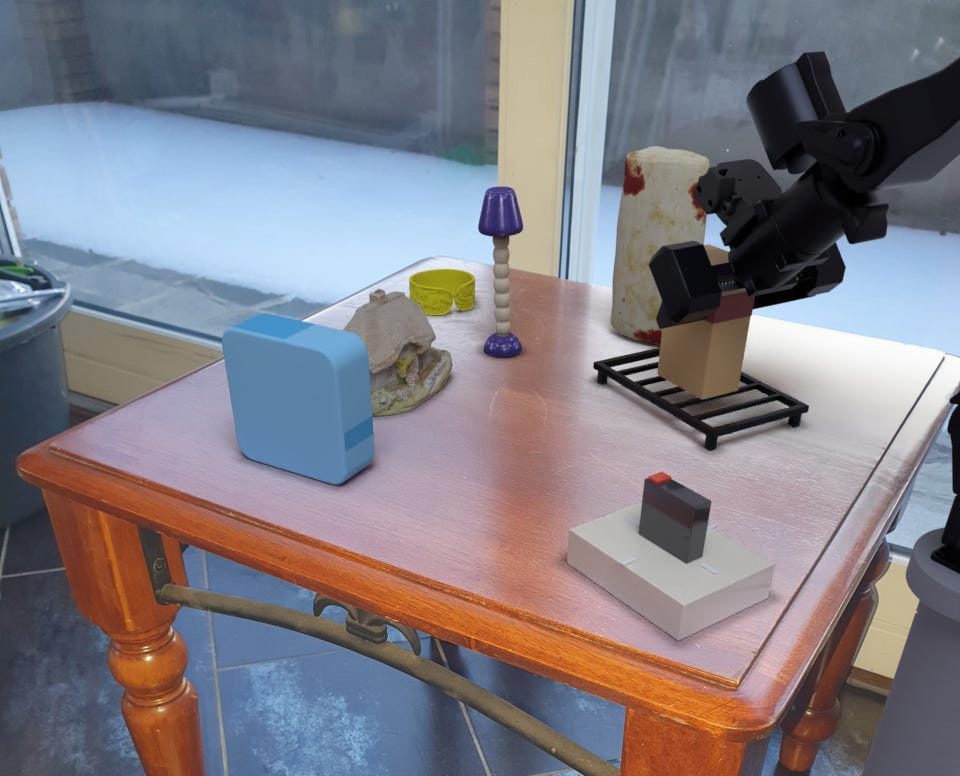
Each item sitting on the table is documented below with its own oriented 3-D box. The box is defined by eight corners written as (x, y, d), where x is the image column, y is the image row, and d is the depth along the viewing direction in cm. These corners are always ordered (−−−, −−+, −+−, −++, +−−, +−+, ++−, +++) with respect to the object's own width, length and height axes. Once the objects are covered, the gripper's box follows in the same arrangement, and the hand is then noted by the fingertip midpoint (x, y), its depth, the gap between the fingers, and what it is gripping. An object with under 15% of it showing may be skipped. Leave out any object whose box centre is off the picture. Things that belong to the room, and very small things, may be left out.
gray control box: (702, 556, 70) (712, 497, 68) (686, 563, 70) (695, 504, 67) (654, 527, 74) (661, 469, 71) (638, 533, 73) (644, 475, 70)
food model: (598, 340, 112) (613, 146, 100) (621, 322, 117) (638, 135, 105) (679, 356, 108) (705, 157, 96) (700, 337, 113) (727, 145, 101)
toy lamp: (483, 359, 108) (484, 195, 98) (473, 344, 111) (473, 184, 101) (526, 356, 109) (531, 193, 98) (515, 340, 112) (518, 182, 102)
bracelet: (399, 301, 123) (398, 274, 121) (456, 291, 126) (456, 265, 124) (426, 319, 118) (425, 291, 116) (485, 308, 121) (485, 280, 119)
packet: (692, 366, 101) (709, 243, 94) (739, 390, 96) (760, 263, 89) (655, 374, 99) (670, 250, 92) (701, 400, 94) (720, 271, 87)
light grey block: (769, 597, 72) (777, 560, 70) (677, 641, 67) (683, 603, 66) (654, 527, 79) (659, 492, 78) (565, 563, 75) (567, 527, 73)
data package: (377, 468, 87) (368, 334, 80) (346, 490, 84) (334, 352, 77) (271, 437, 92) (253, 309, 85) (238, 457, 89) (217, 325, 82)
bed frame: (804, 426, 95) (809, 405, 93) (708, 453, 90) (712, 431, 89) (681, 361, 108) (683, 341, 106) (592, 381, 103) (593, 361, 102)
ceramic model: (379, 427, 94) (373, 323, 88) (296, 398, 99) (284, 297, 93) (470, 380, 103) (470, 283, 97) (389, 356, 108) (384, 261, 102)
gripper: (851, 121, 84) (742, 225, 99) (677, 142, 77) (586, 252, 91) (899, 241, 84) (783, 329, 98) (728, 274, 76) (629, 363, 91)
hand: (697, 315), depth 95 cm, fingers open, 9 cm apart
